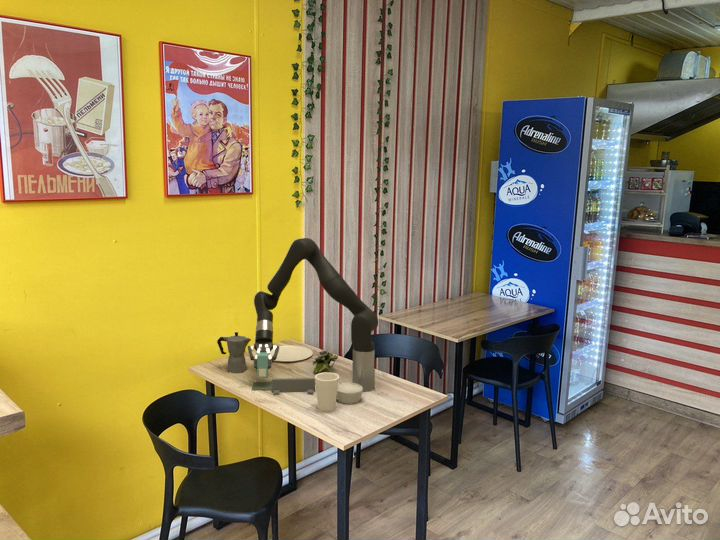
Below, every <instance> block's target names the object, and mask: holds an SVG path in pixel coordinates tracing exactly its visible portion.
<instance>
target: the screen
mask: <svg viewBox="0 0 720 540" xmlns="http://www.w3.org/2000/svg"><path fill="white" fill-rule="evenodd" d="M271 382H272V390H271V393H273V396H280V393H307V395H308V394H310V395H314V393H315V392H316V384H315V377H292V378H290V377H289V378H288V377H283V378H282V377H281V378H277V377H276V378H271Z"/></svg>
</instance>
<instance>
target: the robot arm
mask: <svg viewBox="0 0 720 540" xmlns="http://www.w3.org/2000/svg"><path fill="white" fill-rule="evenodd" d="M303 260H306V261H307V262H308V263H309V264H310V265H311V266H312V267H313V269H314V270H315V272H316V275H317V278H318V280H319V282H320V284H321V287H322V288H323V290H324V291H325V292H326V293H327V294H328V296H329V297H330V298H332V300H334V301H335V302H337V303H339V304H340V305H342V306H344V307H345V308H346V309H347V310H349V312H351V314H352V315H353V317H352V320H351V323H350V335H351V336H350V338H351V340H350V341H351V345H352V368H351V369H352V371H351V375H352V376H351V378H352V379H351V383H355V384H358V385H360V386H362V387H363V391H362V393H363V392H369V391H373V390H375V386H376V385H375V384H376V383H375V379H376V377H375V376H376V368H375V345H376V344H375V342H374V341H373V340H372V332H373V331H375V330H376V329H377V328H378V326H379V319H378V316H377V314H376V313H375V312H374V311H373V310H372V309H371V308H370V307H368V305H367V304H365V303H364V301H363V300H361V298H360V297H359V296H358V294H357V293H355V291H354V290H353V289H352V288H351V286H350V285H349V284H348V282H346V280H345V279H344V277H343V276H342V275H341V274H340V273H339V272H338V270H336V269H335V267H334V266H333V265H332V264H331V263H330V262H329V260H328V259H327V257H326V256H325V255H324V253H323V252H322V250H321V249H320V248H319V246H318V244H317V243H316V242H315V241H314V240H313V239H312V238H309V237H303V238H297V239H295V240H294V241H293V242H292V243H291V244H290V247H289V249H288V251H287V253H286V256H285V257H284V259H283V261H282V263H281V264H280V266H279V268H278V270H277V271H276V273H275V274H273V276H272V278H271V279H270V280H269V283H268V284H267V288H266V289H267V290H268V292H269V293H268V292H265V291H258V292H256V294H255V296H254V297H253V298H254V299H253V305H254V308H255V313H256V326H255V338H254V344H253V345H247V351H248V355H249V358H250V361H253V367H254V369H255V370H257V354H258V353H260V352H267V353H268V358H269V360H268V369H269V370H270V369H272V363H273V361H272V360H276V358H277V355H278V352H279V346H280V345H275V344H274V341H273V339H274V326H273V325H274V324H273V323H274V321H273V320H274V314H273V312H272V310H275V308H276V307H277V305H278V304H279V300H280V297H281V295H282V292H283V291H284V290H285V288H286V287H287V286H288V284H289V282H290V280H291V278H292V276H293V275H292V274H293V272H294V270H295V268H296V267H297V266H298V265H299V264H300V263H301V262H302V261H303ZM273 348H274V351H275V352H274V355H273V356H272V357H271V354H270V351H271V350H272V349H273ZM254 350H255V351H256V352H255V355H254V354H253V351H254Z"/></svg>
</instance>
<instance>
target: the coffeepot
mask: <svg viewBox="0 0 720 540" xmlns="http://www.w3.org/2000/svg"><path fill="white" fill-rule="evenodd" d="M250 341H252V339H251V338H249V337H246V336H244V335H239V332H237V331H236V332H234V335H231V336H220V337H219V338H218V339H217V341H216V344H217V346H218V348H219V351H220V353H221V355H226V354H227V352H225V351H224V346H223V344H222V342H226V345H227V351H228V353H229V356H228V360H227V364H226V371H227V372H228V373H230V372H231V374H241V373H244V372H246V371H247V370H248V366H247V363H246V356H245V353H246V349H247V347H248V344H249V343H250Z"/></svg>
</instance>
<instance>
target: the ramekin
mask: <svg viewBox="0 0 720 540" xmlns="http://www.w3.org/2000/svg"><path fill="white" fill-rule="evenodd" d="M362 391H363V387H362V386H360V385H358V384H355V383H352V382H342V383H339V384H338V390H337V397H336V401H338V402H339V403H342V404H343V405H345V404H347V405H351V404H356V403H357V404H358V403H359V402H360V400H361V399H362V393H363V392H362Z"/></svg>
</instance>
